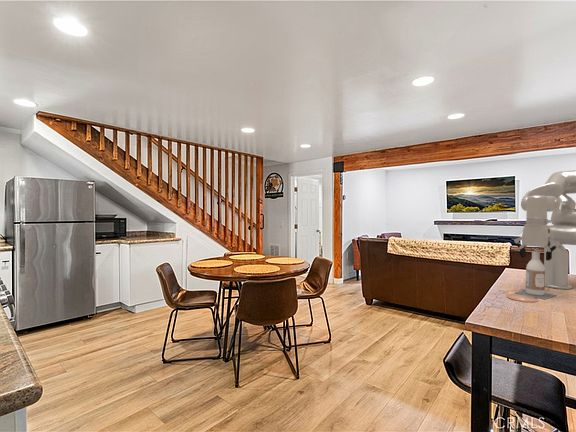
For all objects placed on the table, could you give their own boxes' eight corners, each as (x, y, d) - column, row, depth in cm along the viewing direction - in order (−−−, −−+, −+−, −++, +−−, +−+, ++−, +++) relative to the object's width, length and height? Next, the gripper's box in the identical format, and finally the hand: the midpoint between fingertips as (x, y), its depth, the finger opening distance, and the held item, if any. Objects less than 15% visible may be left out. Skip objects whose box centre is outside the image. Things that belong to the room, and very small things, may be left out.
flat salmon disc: (513, 294, 146) (513, 292, 146) (542, 300, 136) (542, 298, 136) (502, 297, 140) (502, 296, 140) (531, 303, 130) (531, 302, 130)
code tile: (525, 289, 153) (525, 289, 153) (556, 295, 143) (556, 295, 143) (514, 293, 147) (514, 292, 147) (545, 299, 137) (545, 299, 137)
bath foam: (532, 295, 142) (533, 252, 142) (522, 291, 149) (523, 250, 149) (548, 296, 141) (549, 252, 141) (537, 292, 148) (538, 250, 148)
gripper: (563, 222, 139) (562, 261, 139) (518, 221, 154) (517, 256, 154) (556, 222, 135) (555, 262, 135) (511, 221, 150) (510, 256, 150)
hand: (535, 258), depth 145 cm, fingers open, 9 cm apart
